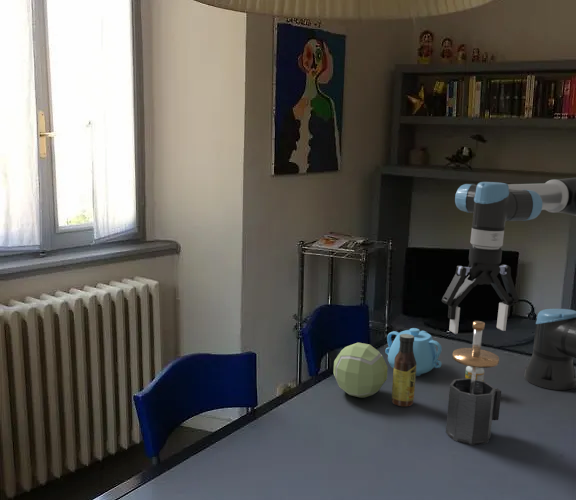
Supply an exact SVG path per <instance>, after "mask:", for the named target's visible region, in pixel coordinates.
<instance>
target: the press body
mask: <svg viewBox="0 0 576 500" xmlns="http://www.w3.org/2000/svg"><path fill="white" fill-rule="evenodd" d="M470 387H471V379H470V378H466V379H465V378H457V379H453V380H452V381H451V383H450V384H449V391H448V392H449V393H448V402H447V403H448V404H447V413H446V426H445V433H446V435H447V436H448V437H449V438H451V440H454V442H459V443H461V444H465V445H469V446H474V445H475V446H476V445H477V446H481V445H485V444H488V443H489V441H490V439H491V433H492V424H493V421H499V416H500V406H501V401H502V400H501V398H502V390H501V389H499V388H496V387H494V386H493V385H491V384H490V383H488V382H487V381H479V380H475V389H474V394H470Z"/></svg>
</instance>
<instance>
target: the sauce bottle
mask: <svg viewBox="0 0 576 500" xmlns="http://www.w3.org/2000/svg"><path fill="white" fill-rule="evenodd" d="M413 342H414V336H413V335H410V334H401V335H400V348H399V350H400V351H399V352H398V354H397V355H396V357H395V360H394V361H395V362H394V368H393V372H392V387H391V390H392V391H391V401H392V404H393V405H395V406H398V407H404V408H406V407H410V406H412V405H413V404H414V399H415V391H416V389H415V388H416V387H415V386H416V377H417V376H416V360H415V357H414V353H413Z"/></svg>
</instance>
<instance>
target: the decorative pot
mask: <svg viewBox="0 0 576 500" xmlns="http://www.w3.org/2000/svg"><path fill="white" fill-rule="evenodd" d="M401 334H410V335H413V336H414V342H413V353H414V357H415V360H416V377H420V376H421V375H424V374H426V373H429V372H431V371H432V370H433V369H434V368H435V369H440V368H441V367H442V361H441V360H439V358H440V355H441V354H442V350H443V349H442V345H441V344H440V343H439V341H437V340H434V339H433V337H432V335H431V334H430V333H428V332H427V331H425V330H420V329H419V328H416V327H412V328H409V329H406V330H402V331H400V332H398V331H396V330H395V331H394V330H393V331H391V332H389V333H388V334H387V336H386V341H387V345H388V346H387V347H386V348H385V354H386V355H387V362H388V365H390V367H391V368H392V369H394V362H395V361H394V360H395V357H396V355H397V354H398V352H399V351H400V350H399V348H400V335H401ZM394 335H395V338H394V340H393V341H392V336H394Z"/></svg>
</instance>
